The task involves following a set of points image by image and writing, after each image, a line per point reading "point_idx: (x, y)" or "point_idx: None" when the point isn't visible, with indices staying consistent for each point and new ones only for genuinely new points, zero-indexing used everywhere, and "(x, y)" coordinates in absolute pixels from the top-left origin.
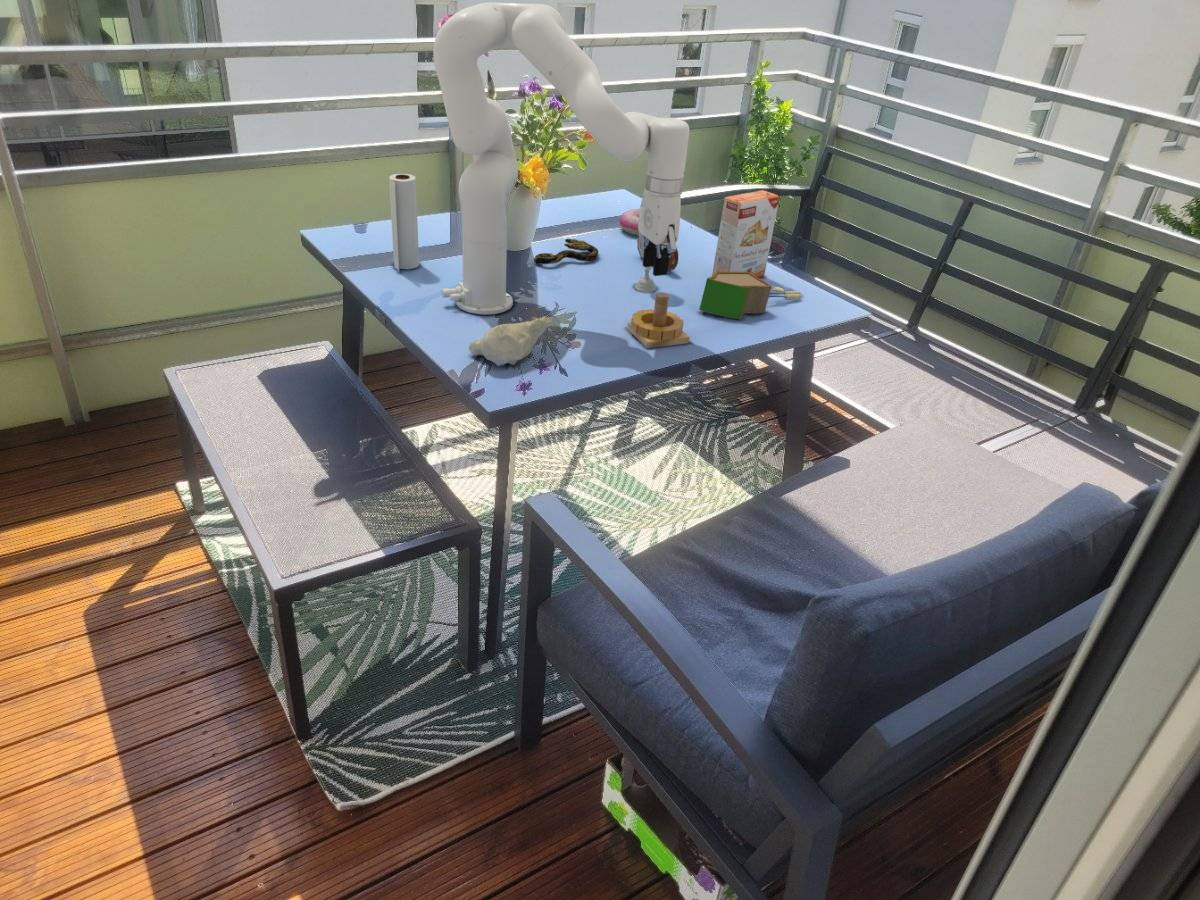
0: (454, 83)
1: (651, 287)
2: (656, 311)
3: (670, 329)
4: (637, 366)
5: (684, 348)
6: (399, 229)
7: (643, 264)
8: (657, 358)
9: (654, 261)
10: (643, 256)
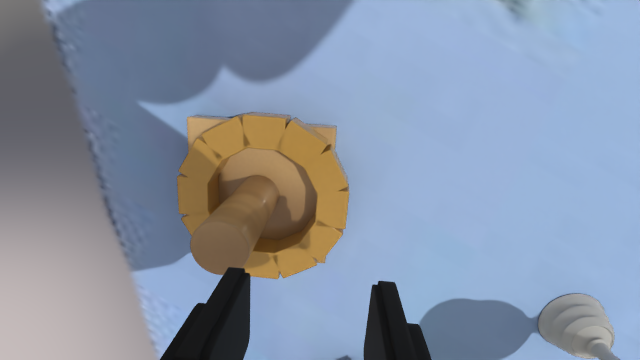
0: None
1: (550, 332)
2: (230, 197)
3: (185, 204)
4: (93, 26)
5: (175, 215)
6: None
7: (384, 286)
8: (132, 113)
9: (205, 326)
10: (406, 324)
